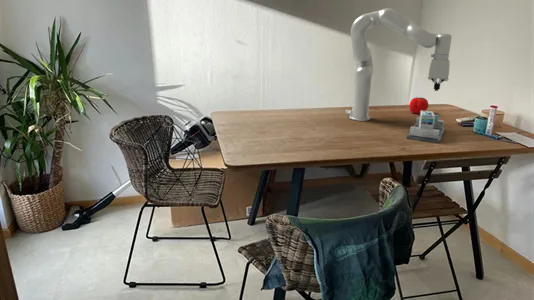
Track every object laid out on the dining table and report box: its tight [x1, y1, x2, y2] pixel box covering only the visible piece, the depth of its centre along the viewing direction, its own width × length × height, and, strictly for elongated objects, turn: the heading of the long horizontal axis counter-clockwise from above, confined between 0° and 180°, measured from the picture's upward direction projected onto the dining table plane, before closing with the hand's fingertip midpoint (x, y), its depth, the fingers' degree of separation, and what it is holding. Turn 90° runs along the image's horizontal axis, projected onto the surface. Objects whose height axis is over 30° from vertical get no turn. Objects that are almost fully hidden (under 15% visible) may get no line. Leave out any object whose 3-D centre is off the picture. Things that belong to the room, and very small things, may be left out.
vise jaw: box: [415, 114, 445, 129], centre depth 237 cm, size 14×6×6 cm, turn 63°
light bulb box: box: [419, 110, 436, 129], centre depth 225 cm, size 11×7×11 cm, turn 165°
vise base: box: [406, 123, 445, 144], centre depth 228 cm, size 16×25×6 cm, turn 153°
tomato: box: [408, 96, 429, 115], centre depth 270 cm, size 11×13×10 cm
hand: (436, 90), depth 238 cm, fingers closed
